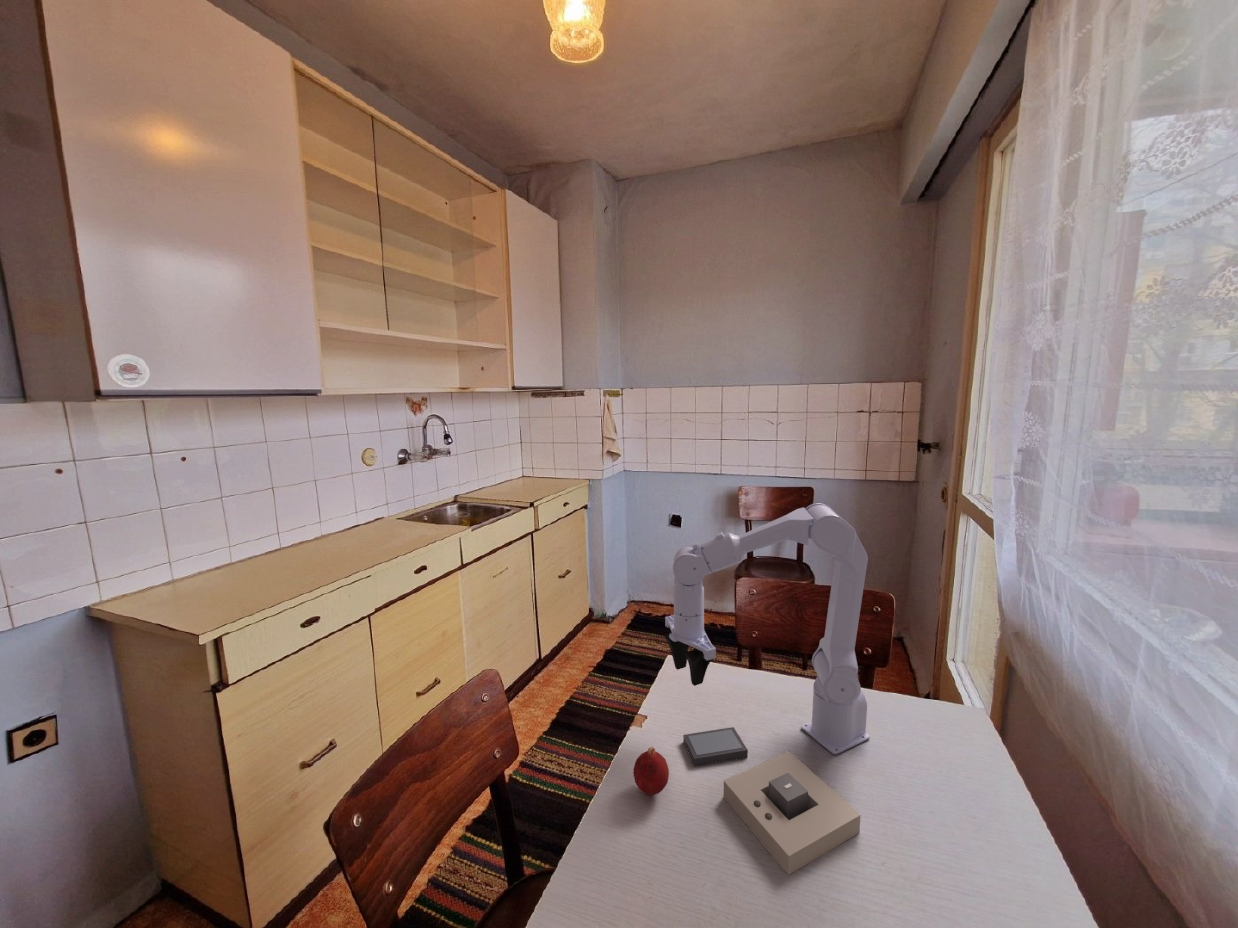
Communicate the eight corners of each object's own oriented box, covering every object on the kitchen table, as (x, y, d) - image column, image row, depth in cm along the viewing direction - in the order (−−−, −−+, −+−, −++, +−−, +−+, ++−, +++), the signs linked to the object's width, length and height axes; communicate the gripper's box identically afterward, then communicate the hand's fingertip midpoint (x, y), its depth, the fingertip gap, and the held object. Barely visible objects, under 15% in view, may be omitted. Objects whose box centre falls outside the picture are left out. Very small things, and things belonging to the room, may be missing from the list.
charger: (787, 800, 76) (788, 771, 75) (806, 820, 72) (808, 790, 71) (768, 809, 74) (768, 780, 73) (786, 830, 71) (788, 800, 70)
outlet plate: (788, 766, 82) (789, 750, 82) (859, 832, 70) (860, 813, 69) (723, 796, 77) (723, 779, 76) (788, 875, 64) (789, 855, 64)
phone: (733, 736, 91) (733, 726, 90) (747, 759, 85) (747, 749, 84) (683, 744, 89) (683, 734, 89) (694, 768, 83) (694, 758, 83)
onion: (667, 810, 74) (666, 765, 73) (630, 804, 75) (630, 760, 74) (670, 780, 80) (670, 738, 79) (636, 775, 81) (636, 733, 80)
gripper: (652, 599, 96) (652, 661, 98) (692, 631, 83) (692, 702, 85) (681, 592, 99) (681, 653, 101) (725, 622, 86) (724, 691, 88)
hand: (688, 675), depth 93 cm, fingers open, 5 cm apart
